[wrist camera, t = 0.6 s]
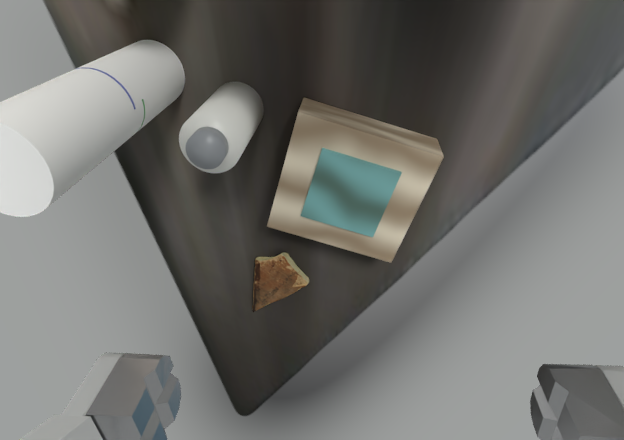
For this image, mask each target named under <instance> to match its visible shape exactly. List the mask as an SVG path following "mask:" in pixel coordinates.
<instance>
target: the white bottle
mask: <svg viewBox="0 0 624 440" xmlns="http://www.w3.org/2000/svg"><path fill="white" fill-rule="evenodd" d="M263 112H264V108H263V103H262V100H261V98H260V96H259V94H258V93H257V92H256V91H255V90H254V89H253V88H252V87H251V86H249V85H247V84H245V83H242V82H228V83H225V84H223V85H222V86H221V87H219V88H218V89H217V90H216V91H215V92H214V93H213V94H212V95H211V96H210V97H209V99H208V100H207V101H206V102H205V103H204V104H203V105H202V106H201V107H200V108H199V109H198V110H197V111H196V112H195V113H194V114H193V115H192V116H191V117H190V118H189V119H188V120H187V121H186V122H185V123H184V124H183V126H182V128H181V130H180V133H179V144H180V148H181V151H182V153H183V155H184V156H185V158H186V159H187V160H188V161H189V162H190V163H191V164H192V165H193V166H195V167H196V168H198V169H200V170H202V171H205V172H208V173H222V172H225V171H228V170H230V169H231V168H232V167H234V166H235V164H236V163H237V162H238V160H239V158H240V157H241V155H242V153H243V151H244V150H245V148H246V146H247V144H248V143H249V141H250V139H251V137H252V136H253V134H254V132H255V131H256V129H257V127H258V125H259V124H260V122H261V120H262V117H263Z"/></svg>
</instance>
